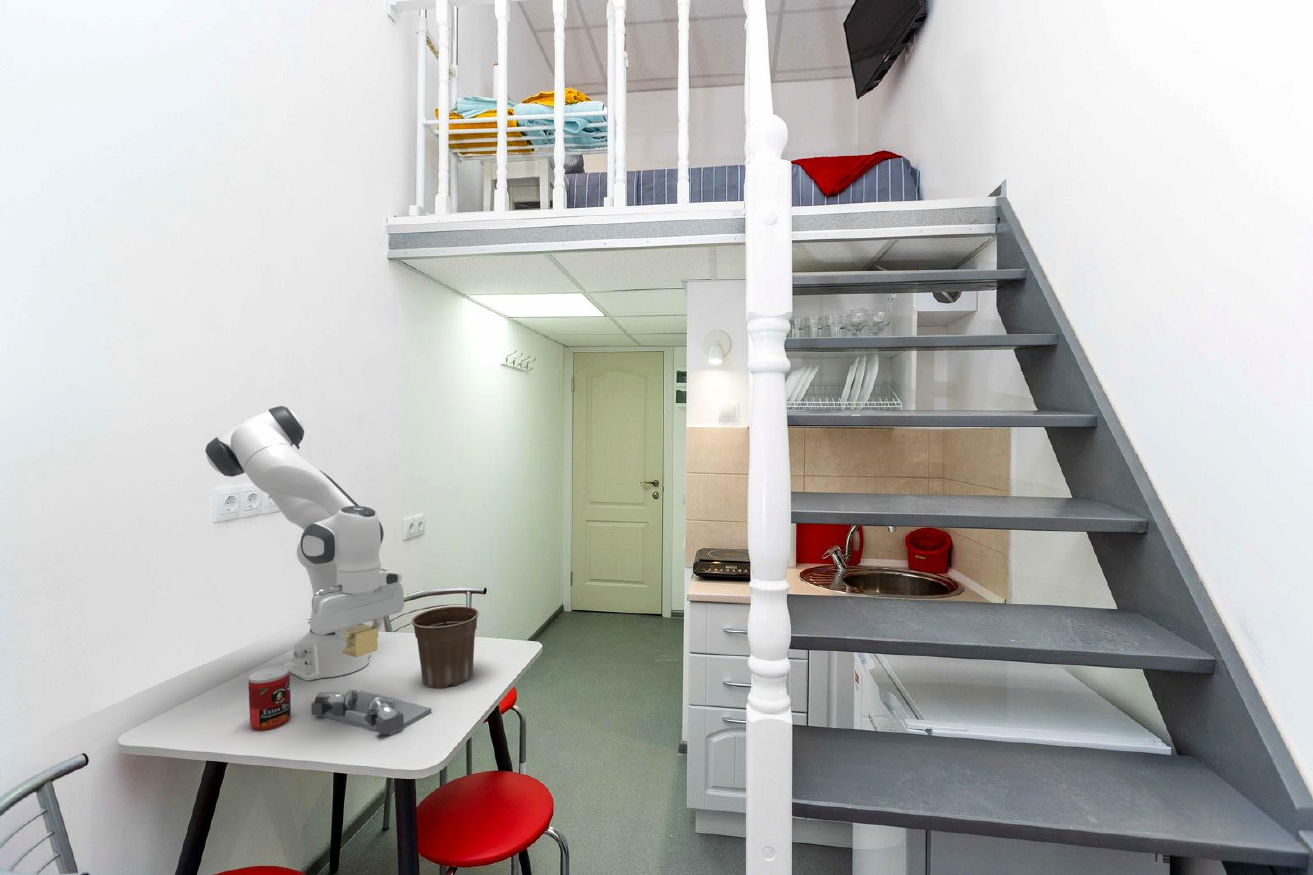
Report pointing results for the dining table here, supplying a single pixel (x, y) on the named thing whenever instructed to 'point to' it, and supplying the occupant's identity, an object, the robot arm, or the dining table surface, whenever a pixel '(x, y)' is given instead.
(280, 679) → the canned food
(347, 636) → the golden yellow cube
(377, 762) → the dining table surface
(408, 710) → the grey base plate
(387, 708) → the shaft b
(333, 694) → the shaft
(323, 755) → the dining table surface
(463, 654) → the plant pot
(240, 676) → the dining table surface
